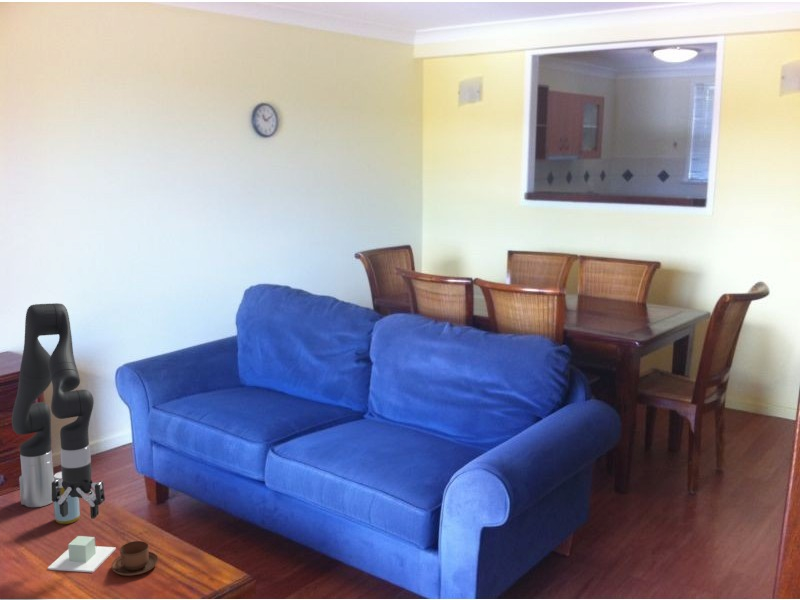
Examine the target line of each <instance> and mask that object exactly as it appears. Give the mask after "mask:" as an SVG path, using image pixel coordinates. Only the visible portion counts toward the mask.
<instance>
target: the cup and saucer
mask: <svg viewBox="0 0 800 600" xmlns="http://www.w3.org/2000/svg"><path fill="white" fill-rule="evenodd" d="M119 553H120V554H119V556H118V557H117V558H115V559H114V560H113V562H112V564H111V570H112V571H113V572H114V573H116V574H117V575H121V576H128V577H129V576H130V577H131V576H137V575H142V574H145V573H147V572H149V571H150V570H152V569H153V568H154V567H156V565H157V564H158V562H159V561H158V560H159V558H158V555H157V554H155V553H154V552H152V551H149V544H148V543H147V542H145V541H141V540H136V541H130V542H127V543H125V544H123V545H121V546H120V549H119Z"/></svg>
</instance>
